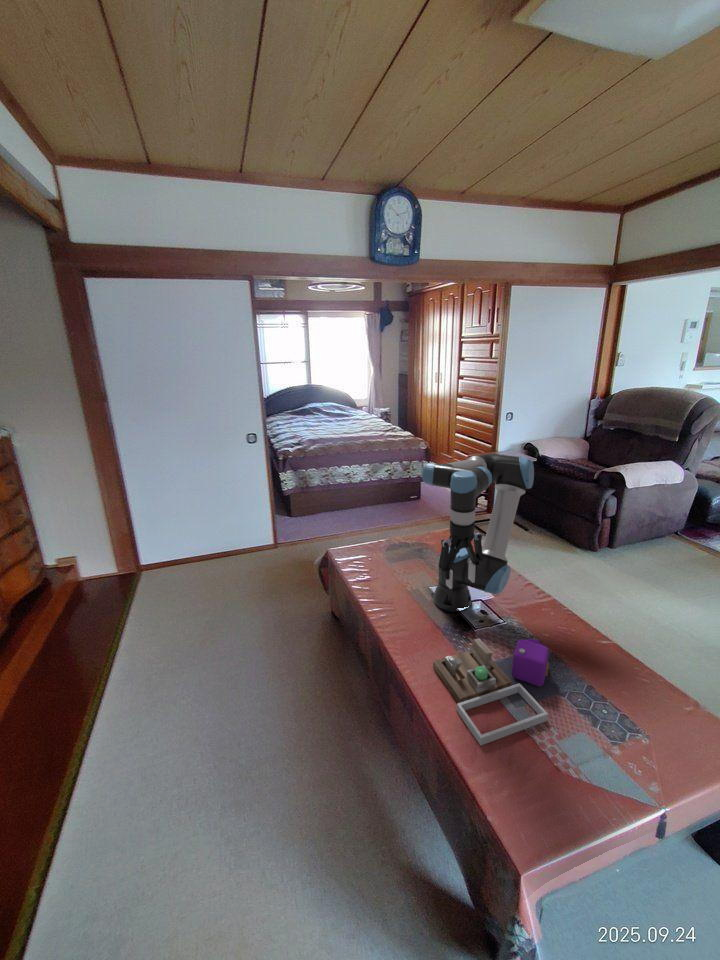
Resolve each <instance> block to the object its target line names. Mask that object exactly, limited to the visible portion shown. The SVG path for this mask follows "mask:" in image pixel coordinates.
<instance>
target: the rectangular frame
mask: <svg viewBox="0 0 720 960" xmlns="http://www.w3.org/2000/svg"><path fill="white" fill-rule="evenodd" d="M515 694H519V695H520V696H521V697H522V699H523V700H524V701H526V703H527V704H528V705H529V706H530V707H531V708H532V709H533V710H534V711H535V713H536V715H532V716H529V717H527V718H525V719H521V720H519V721H516V722H514V723H510V724H508V725H505V726H502V727H500V728H497V729H494V730H491V731H489V732H488V731H487V732H486V733H483V734H482V733H481V732H480V730H479V729H478V727H477V726H476V724H475V723H474V722H473V720H472V719H471V718H470V716H469V715H468V712H466V711H467V710H470V709H473V708H474V709H475V708H476V707H480V706H483V705H485V704H488V703H491V702H495V701H498V700H500V699H504V698H506V697H509V696H512V695H515ZM456 712H457V714H458V716H460V718H461V719H462V721H463V723H464V724H465V726H466V727H467V728H468V730H469V732H470V733H471V734H472V735H473V737H474V738H475V740H476V742H477V743H478V744H479V746H480V747H481V746H484V745H486V744H488V743H491V742H493V741H496V740H500V739H502V738H505V737H508V736H510V735H512V734H516V733H518V732H521V731H523V730H526V729H529V728H533V727H535V726H537V725H540V724H542V723H545V722H548V718H549V717H548V716H549V713H548V712H547V711H546V710H545V709H544V707H543V706H542V705H541V704H539V702H538V701H537V700H536V699H535V698H534V696H532V694H530V693H529V692H528V690H526V688H525V687H524V686H523V685H522V684H521V683H516V684H512V686H509V687H506V688H503V689H500V690H497V691H494V692H491V693H488V694H485V695H482V696H479V697H476V698H473V699H470V700H467V701H464V702H461V703H458V702H457V703H456Z"/></svg>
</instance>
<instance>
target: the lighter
mask: <svg viewBox="0 0 720 960" xmlns="http://www.w3.org/2000/svg"><path fill="white" fill-rule="evenodd" d="M452 656H453V655H448V656H445V657H444V658H445V668H446V669H447V671H448V672H449V673H450V675H451V676H452V677H453V676H456V669H458V668H459V667H460V666H461V664H462V661H461V659H457V660H455V661H454V659H453V658H452Z"/></svg>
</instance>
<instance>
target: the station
mask: <svg viewBox="0 0 720 960" xmlns="http://www.w3.org/2000/svg"><path fill="white" fill-rule="evenodd" d="M472 644H473V645H472V646H473V647H472V649H471V650H468V651H464V652H461V653H456V654H454V655H451V656H452V658H453V659H454V661H455V660H457V659H461V661H462V664H461V666H460V667H459V668H458V669H456V676H453V677H452V676H451V675H450V673H449V672H448V671H447V669H446V668H445V657H444V658H443V657H442V658H440V659H436V660H433V662H432V665H433V666H432V668H433V669H434V671H435V673H437V675H438V676H439V678H440V679H441V681H442V682H443V684H444V685H445V686H446V689H447V690H448V691H449V692H450V693H451V695H452V697H453V699H454V700H455V701H456V702H457V704H458V703H461V702H464V701H467V700H470V699H473V698H476V697H479V696H482V695H485V694H488V693H491V692H494V691H497V690H500V689H503V688H506V687H509V686H512V685H513V681H512V680H511V679H510V678H509V677H508V675H506V674H505V672H504V671H503V670H502V669H501V668H500V666H498V665H497V663H496V662H494V660H493V659H492V658H493V652H492V651H491V649H490V648H489V647H488V646H487V645H486V644H485V642H483V641H482V640H481V638H475V639H473V643H472ZM478 666H482V667H485V668H486V669H487V670H488V676H487V680H484V681H481V682H479V681H478V680H477V679H476V677H475V669H476V667H478Z"/></svg>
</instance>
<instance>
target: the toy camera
mask: <svg viewBox="0 0 720 960" xmlns="http://www.w3.org/2000/svg"><path fill="white" fill-rule="evenodd" d="M549 650H550V649H549V648H548V647H547V646H546V645H543V643H541V641H539V640H538V639H535V638H527V639H522V638H520V639H519V640H518V641H517V643H516V645H515V649H514V653H513V655H512V656H513V659H512V666H511V675H512V677H513V678H515V680H519V681H522V682H525V683H527V684H531V685H533V686H537V687H542V686H543V685H544V683H545V680H546V677H548V673H549V667H550V662H549V654H550V652H549Z"/></svg>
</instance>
